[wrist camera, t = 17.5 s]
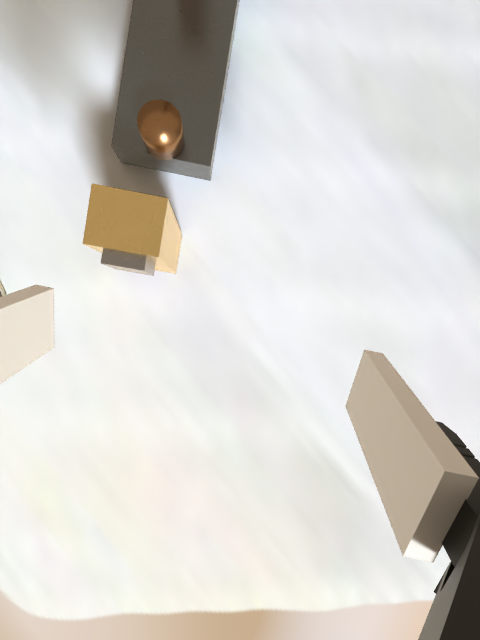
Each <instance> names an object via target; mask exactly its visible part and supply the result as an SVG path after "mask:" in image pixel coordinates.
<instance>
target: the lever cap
mask: <svg viewBox="0 0 480 640" xmlns="http://www.w3.org/2000/svg"><path fill="white" fill-rule="evenodd" d="M181 240H182V234H181V231H180V228H179V226H178V223H177V220H176V218H175V215H174V213H173V210H172V207H171V205H170V202H169V199H168V198H164V197H159V196H154V195H148V194H143V193H138V192H133V191H128V190H123V189H118V188H113V187H108V186H103V185H97V184H92V186H91V193H90V199H89V206H88V213H87V219H86V226H85V232H84V239H83V244H84V245H86V246H88V247H91V248H93V249H95V250H97V251H99V252H101V253H102V259H101V264H104V265H107V266H109V267H112V268H114V269H117V270H123V271H129V272H135V273H141V274H146V275H152V276H154V271H155V270H157V271H163V272H169V273H174V274H176V271H177V265H178V258H179V252H180V246H181Z"/></svg>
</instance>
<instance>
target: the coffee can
mask: <svg viewBox="0 0 480 640" xmlns="http://www.w3.org/2000/svg"><path fill="white" fill-rule="evenodd" d="M5 295H6V294H5V290H4V288H3V286H2V285H1V283H0V297H2V296H5Z"/></svg>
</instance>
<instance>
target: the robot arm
mask: <svg viewBox="0 0 480 640" xmlns="http://www.w3.org/2000/svg"><path fill="white" fill-rule="evenodd" d="M53 348H54V288H50V287H45V286H40V285H34V286H31V287H28V288H25V289H22V290H19V291H16V292H14V293H11V294H8V295H5V296H2V297H0V384H1V383H2V382H4V381H5V380H7V379H8V378H10V377H11V376H13V375H14V374H16V373H17V372H19V371H20V370H22V369H23V368H25V367H26V366H28V365H29V364H31V363H32V362H34V361H35V360H37V359H38V358H40V357H41V356H43V355H44V354H46V353H47V352H49V351H50V350H52V349H53ZM346 409H347V411H348V414H349V417H350V419H351V422H352V424H353V427H354V430H355V432H356V435H357V437H358V440H359V443H360V445H361V448H362V450H363V453H364V456H365V458H366V461H367V464H368V466H369V469H370V471H371V474H372V477H373V479H374V482H375V484H376V487H377V490H378V492H379V495H380V497H381V500H382V503H383V505H384V508H385V510H386V513H387V516H388V518H389V521H390V523H391V526H392V529H393V531H394V534H395V536H396V539H397V542H398V544H399V547H400V549H401V552H402V555H403V556H405V557H410V558H414V559H419V560H424V561H429V562H434V560H435V558H436V556H437V555H438V553H439V551H440V549H441V547H442V545H443V546H444V548H445V550H446V552H447V554H448V556H449V558H450V560H451V562H450V564H449V566H448V567H447V569H446V571H445V573H444V574H443V576H442V578H441V580H440V582H439V583H438V585H437V587H436V589H435V590H434V592H435V593H436V596H435V599H434V601H433V604H432V606H431V609H430V611H429V614H428V616H427V619H426V622H425V624H424V627H423V629H422V632H421V634H420V637H419V639H418V640H480V462H479V461H478V460H477V459H475V458H474V457H475V456H474V455H473V454H472V453H471V451H470V450H469V449H467V448H466V445H465V444H464V443H463V442H462V440H461V439H460V438H459V437H458V436H457V434H455V433H454V432H453V431H452V430H450V429H449V428H448V427H447V426H445V425H444V424H443V423H441V422H436V421H435V420H434V419H433V418H432V416H431V415H430V414H429V413H428V411H427V410H426V409H425V407H424V406H423V405H422V403H421V402H420V401H419V400H418V398H417V397H416V396H415V394H414V393H413V392H412V390H411V389H410V388H409V387H408V385H407V384H406V383H405V381H404V380H403V379H402V378H401V376H400V375H399V374H398V372H397V371H396V370H395V368H394V367H393V366H392V365H391V363H390V362H389V361H388V359H387V358H386V357H385V355H384V354H383V353H378V352H373V351H368V350H364V353H363V356H362V359H361V362H360V365H359V368H358V370H357V373H356V376H355V379H354V382H353V385H352V388H351V391H350V394H349V397H348V400H347V403H346Z"/></svg>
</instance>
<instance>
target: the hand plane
mask: <svg viewBox="0 0 480 640" xmlns="http://www.w3.org/2000/svg"><path fill="white" fill-rule="evenodd" d="M238 6H239V0H134V1H133V8H132V15H131V21H130V28H129V34H128V41H127V47H126V54H125V60H124V67H123V74H122V80H121V87H120V93H119V100H118V106H117V113H116V119H115V126H114V133H113V139H112V148H113V149H114V151H115V153H116V154H117V156H118V158H119V159H120V161H121V162H122V163H126V164H131V165H136V166H141V167H146V168H151V169H156V170H161V171H166V172H171V173H176V174H181V175H185V176H190V177H195V178H200V179H205V180H211V174H212V168H213V162H214V155H215V149H216V143H217V137H218V131H219V124H220V118H221V112H222V106H223V100H224V93H225V87H226V81H227V75H228V68H229V62H230V56H231V50H232V44H233V37H234V31H235V25H236V19H237V13H238Z"/></svg>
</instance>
